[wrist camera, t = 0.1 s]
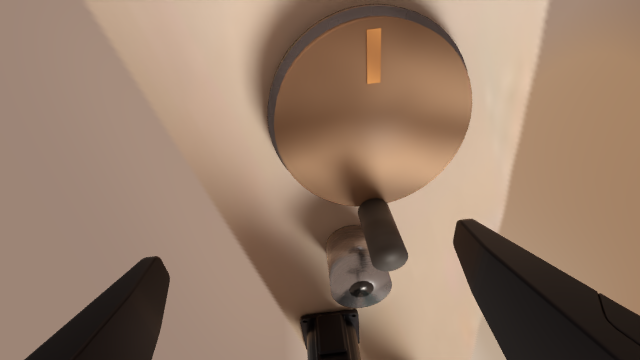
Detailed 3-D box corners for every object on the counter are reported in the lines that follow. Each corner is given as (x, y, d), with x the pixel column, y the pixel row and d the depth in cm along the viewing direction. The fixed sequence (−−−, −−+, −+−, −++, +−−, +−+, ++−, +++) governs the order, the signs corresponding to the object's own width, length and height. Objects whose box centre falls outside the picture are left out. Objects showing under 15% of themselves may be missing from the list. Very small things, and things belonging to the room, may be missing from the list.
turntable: (446, 203, 26) (485, 259, 21) (292, 222, 26) (292, 282, 21) (480, 3, 18) (554, 14, 13) (257, 28, 18) (243, 50, 13)
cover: (377, 260, 31) (390, 304, 27) (327, 266, 31) (333, 311, 27) (378, 222, 29) (392, 264, 24) (323, 228, 28) (329, 272, 24)
